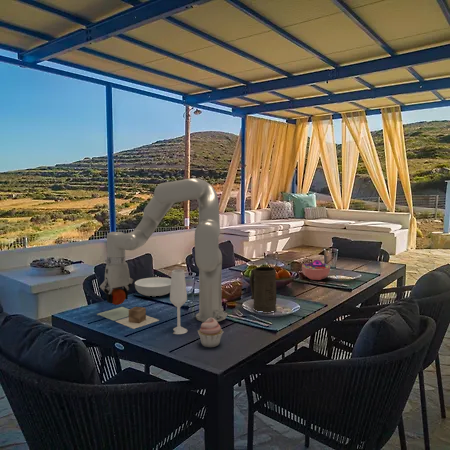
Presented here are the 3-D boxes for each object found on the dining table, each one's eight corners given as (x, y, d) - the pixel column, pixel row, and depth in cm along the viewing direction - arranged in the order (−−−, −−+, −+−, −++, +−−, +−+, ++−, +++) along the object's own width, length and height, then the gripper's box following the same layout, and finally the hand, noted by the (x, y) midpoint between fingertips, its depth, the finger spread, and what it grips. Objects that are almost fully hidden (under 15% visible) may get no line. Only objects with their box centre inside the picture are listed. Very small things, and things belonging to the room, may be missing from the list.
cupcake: (203, 351, 135) (203, 323, 134) (193, 341, 143) (193, 315, 142) (228, 346, 139) (228, 319, 138) (217, 337, 147) (217, 311, 146)
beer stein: (282, 309, 179) (280, 267, 177) (268, 315, 171) (266, 271, 170) (256, 305, 189) (254, 264, 188) (242, 310, 181) (240, 268, 180)
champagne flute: (166, 330, 154) (165, 270, 151) (180, 326, 158) (179, 268, 156) (177, 335, 149) (176, 273, 146) (191, 331, 153) (190, 270, 151)
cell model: (296, 280, 232) (296, 262, 230) (308, 274, 249) (308, 256, 247) (324, 284, 223) (324, 265, 222) (334, 277, 240) (335, 259, 239)
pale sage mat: (139, 314, 173) (139, 312, 173) (113, 322, 163) (113, 320, 163) (122, 308, 181) (122, 306, 181) (96, 315, 171) (96, 313, 171)
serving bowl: (180, 297, 198) (180, 284, 198) (138, 302, 191) (138, 288, 190) (170, 287, 218) (170, 275, 217) (132, 291, 210) (131, 278, 209)
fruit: (129, 303, 173) (128, 285, 172) (117, 307, 167) (116, 289, 166) (117, 301, 176) (117, 283, 175) (105, 305, 170) (105, 287, 170)
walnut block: (145, 319, 164) (145, 307, 164) (139, 323, 160) (138, 311, 159) (135, 318, 166) (135, 306, 165) (128, 321, 161) (128, 310, 161)
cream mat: (159, 321, 163) (159, 320, 163) (133, 330, 154) (133, 328, 154) (140, 315, 172) (140, 313, 172) (115, 323, 162) (114, 321, 162)
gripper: (103, 264, 161) (104, 307, 162) (138, 258, 174) (139, 298, 175) (93, 262, 165) (94, 303, 167) (128, 256, 178) (129, 294, 180)
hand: (117, 300), depth 171 cm, fingers closed on fruit, 7 cm apart
